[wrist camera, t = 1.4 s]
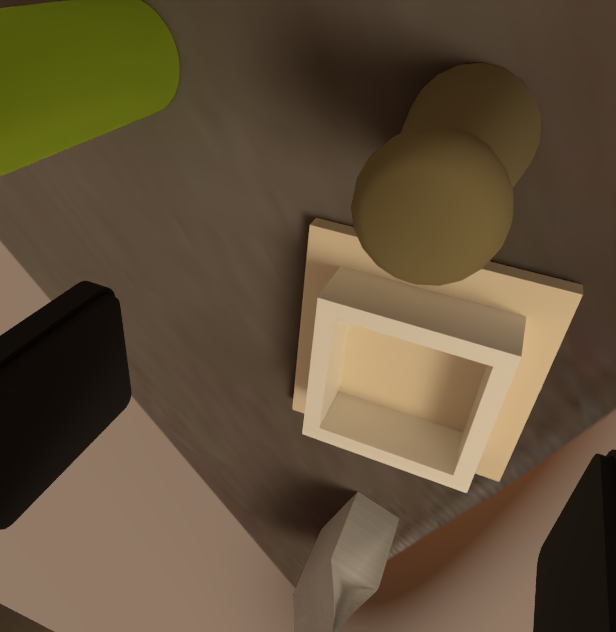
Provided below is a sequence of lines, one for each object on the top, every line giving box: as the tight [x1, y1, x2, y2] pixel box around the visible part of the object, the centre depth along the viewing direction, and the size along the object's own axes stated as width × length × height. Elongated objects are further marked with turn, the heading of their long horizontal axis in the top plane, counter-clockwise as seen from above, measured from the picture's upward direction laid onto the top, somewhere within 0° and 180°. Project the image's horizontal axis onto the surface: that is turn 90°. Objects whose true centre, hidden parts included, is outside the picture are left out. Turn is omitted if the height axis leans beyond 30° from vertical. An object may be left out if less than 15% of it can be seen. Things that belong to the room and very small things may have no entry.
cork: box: [351, 63, 542, 286], centre depth 21 cm, size 6×6×11 cm
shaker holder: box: [292, 218, 583, 493], centre depth 31 cm, size 14×14×4 cm
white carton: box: [293, 492, 399, 632], centre depth 40 cm, size 4×7×10 cm, turn 154°
